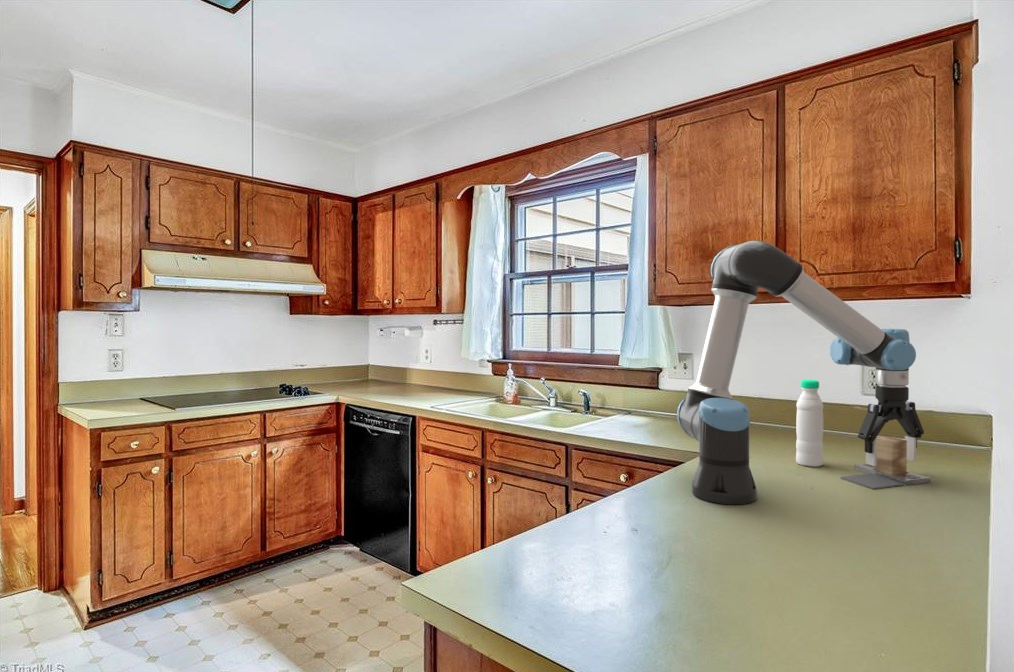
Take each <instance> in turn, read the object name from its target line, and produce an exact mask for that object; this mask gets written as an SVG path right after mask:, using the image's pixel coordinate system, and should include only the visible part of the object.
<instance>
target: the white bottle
mask: <svg viewBox="0 0 1014 672" xmlns="http://www.w3.org/2000/svg"><path fill="white" fill-rule="evenodd" d="M800 389H801V390H802V393H801V394H800V395H799V398H797V401H796V404H795V405H796V418H795V419H796V422H795V425H796V427H795V428H796V429H795V431H796V441H795V447H796V452H795V453H796V454H795V462H796V463H797V464H798V465H800V466H804V467H810V468H814V467H815V468H818V467H821V466H822V465H823V464H824V456H823V450H824V443H823V438H824V437H823V436H824V411H823V410H824V404H823V401H822V399H821V396H820V395H819V393H818V391H819V389H820V381H819V380H816V379H802V380H801V381H800Z"/></svg>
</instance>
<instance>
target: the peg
mask: <svg viewBox="0 0 1014 672" xmlns="http://www.w3.org/2000/svg"><path fill="white" fill-rule="evenodd" d="M875 442H877V466H875V470H877V471H880V472H883V473H887V474H890V475H898V474H906V471H907V463H908V462H907V461H908V460H907V441H906V440H905V439H902V438H897V437H893V436H885V437H883V436H882V437H876V439H875Z"/></svg>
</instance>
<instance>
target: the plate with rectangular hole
mask: <svg viewBox="0 0 1014 672" xmlns="http://www.w3.org/2000/svg"><path fill="white" fill-rule="evenodd" d="M853 470H857V471H860V472H863V473H866V474H873V475H876V476H879V477H882V478H886V479H889V480H892V481H895V482H899V483H902V484H904V486H910V485H911V486H912V485H922V484H928V483H931V479H932V478H931V477H930V476H929V477H928V476H926V475H923V474H922V475H921V474H918V473H915V472H912V471H908V470H906V474H898V475H890V474H887V473H883V472H880V471H877V470H875V466H873V465H869V464H866V463H859V464H854V465H853Z"/></svg>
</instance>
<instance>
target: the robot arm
mask: <svg viewBox="0 0 1014 672" xmlns="http://www.w3.org/2000/svg"><path fill="white" fill-rule="evenodd" d="M710 265H711V266H710V274H711V278H712V280H713V281H712V286H711V293H712V294H713V296H714V297H715V298H714V302H713V306H712V307H713V308H712V310H711V316H710V320H709V324H708V328H707V331H706V336H705V341H704V345H703V350H702V353H701V357H700V362H699V367H698V371H697V375H696V378H695V382H694V383H692V384H691V385H688V389H687V392H686V396H685V398H683V399H682V400H681V401H680V403H679V405H678V407H677V410H676V411H677V412H676V418H677V421H678V424H679V426H680V428H681V429H682V430H683V432H684V433H685V434H686V435H688V436H689V437H690V438H692V439H694V440H696V441H698V443H699V444H698V445H699V446H698V448H699V449H698V452H699V454H698V455H699V457H698V458H699V461H698V466H697V468H696V470H695V471H696V472H695V475H694V478H693V481H692V482H691V493H692V494H693V496H695V497H697V498H698V499H700V498H701V499H700V500H703V501H707V502H710V501H711V503H714V502H715V503H716V504H720V505H721V504H722V505H746V504H751V503H753V502H755V501H756V500H757V499H758V489H757V486H756V483H755V479H754V476H753V474H752V470H751V468H750V431H751V430H750V429H751V428H750V425H751V424H750V423H751V418H750V410H749V408H748V406H747V405H746V404H745V403H743V402H741V401H739V400H737V399H736V400H735V399H733V396H732V394H731V392H730V391H729V389H730V388H729V387H730V384H731V379H732V375H733V370H734V368H735V363H736V358H737V355H738V350H739V346H740V342H741V339H742V338H741V337H742V333H743V330H744V326H745V321H746V316H747V313H748V307H749V305H750V303H751V302H753V301H755V300H756V299H757V297H758V293H759V289H762V290H764V291H766V292H768V293H769V294H770V295H772V296H773V297H776V298H777V297H782V298H783V299H785V301H788V302H789V303H790V304H792V305H793V306H794V307H796V308H797V309H799V311H801V312H803V313H804V314H806V316H808V317H810V318H811V319H812V320H813V321H815V322H817V323H818V324H819V325H820V326H822V327H824V328H825V329H826V330H828V331H829V332H830V333H832V334H833V335H835V338H834V339H833V340H832V342H831V343H830V347H829V348H830V350H829V351H830V353H829V354H830V355H829V356H830V357H831V360H832V361H833V362H834V363H835V364H837V365H840V366H841V365H844V366H845V365H846V366H849V365H850V366H851V365H852V366H853V365H854V366H861V367H862V366H864V367H870V368H875V378H874V379H875V380H874V381H875V384H876V385H875V389H874V390H875V394H874V395H875V399H877V401H878V402H877V404H874V403H868V405H867V412H866V414H865V417H864V419H863V422H862V424H861V427H860V429H859V432H858V433H857V434H858V435H857V437H858V438H859V439H860V440H863V441H864V452H865V464H869V465H873V466H877V442H876V438H878V436H879V434H880V432H881V431H882V429H883V428H884V427H885V424H886V423H888V422H890V421H894V420H896V421H897V422H898V423H899V425H900V426H901V428H902V429H903V431H904V432H905V434H906V435H904V440H906V441H907V461H911V462H917V448H918V439H921V438H922V435H924V433H925V431H924V428H923V426H922V423H921V421H920V417H919V415H918V413H917V410H916V403H915V402H913V401H909V399H910V397H909V395H910V394H909V393H910V391H909V387H908V386H909V384H910V383H909V381H910V380H909V375H910V374H909V370H910V367H912V366H913V365H914V363H915V361H916V358H917V352H916V349H915V346H914V345H913V344H912V343H911V342H910V332H909V331H908V330H907V329H905V328H880V327H878V326H877V325H876V324H875V323H873V322H872V321H871V320H870V319H868V318H866V317H865V316H864V315H862V314H861V313H860V312H858V310H856V309H854V308H853V307H852V306H850V305H848V303H846V302H845V301H843V299H841V298H840V297H838V296H837V295H835V294H834V293H833V292H831V291H830V290H828V289H827V288H826V287H825V286H824V285H822V284H820V283H819V282H818V281H817V280H815V279H814V278H812V277H811V276H810V275H809V274H807V273H806V272H805V271H804V270H805V269H804V268H805V267H804V265H802V264H801V263H800V262H799V261H797V260H796V259H794V258H793V257H791V256H790V255H789V254H788V253H786V252H784V251H783V250H781V248H778V247H777V246H774V244H771V243H769V242H766V241H761V240H750V241H746V242H742V243H739V244H732V245H729V246H727V247H725V248H724V249H722V250H721V251H719V252H718V253H717V254H716V256H714V258H713V259H712V263H711V264H710Z"/></svg>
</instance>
